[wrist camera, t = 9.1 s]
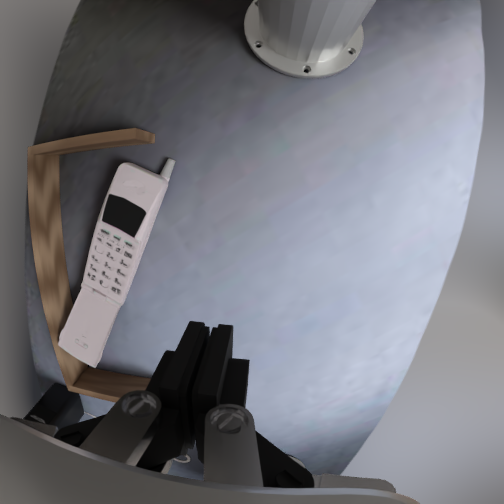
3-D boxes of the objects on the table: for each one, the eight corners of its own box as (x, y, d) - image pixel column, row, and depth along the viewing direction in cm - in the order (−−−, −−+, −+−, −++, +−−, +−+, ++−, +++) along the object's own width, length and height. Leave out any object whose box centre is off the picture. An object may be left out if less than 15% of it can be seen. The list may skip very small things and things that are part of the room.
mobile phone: (56, 347, 30) (110, 138, 24) (78, 325, 36) (135, 142, 30) (96, 372, 31) (166, 162, 24) (115, 347, 36) (183, 164, 30)
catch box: (53, 148, 30) (27, 147, 25) (154, 134, 29) (135, 127, 24) (84, 371, 37) (68, 390, 33) (172, 386, 37) (161, 410, 32)
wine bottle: (52, 380, 39) (-47, 500, 10) (79, 391, 39) (-17, 527, 10) (59, 404, 40) (-25, 521, 11) (86, 415, 40) (5, 545, 11)
